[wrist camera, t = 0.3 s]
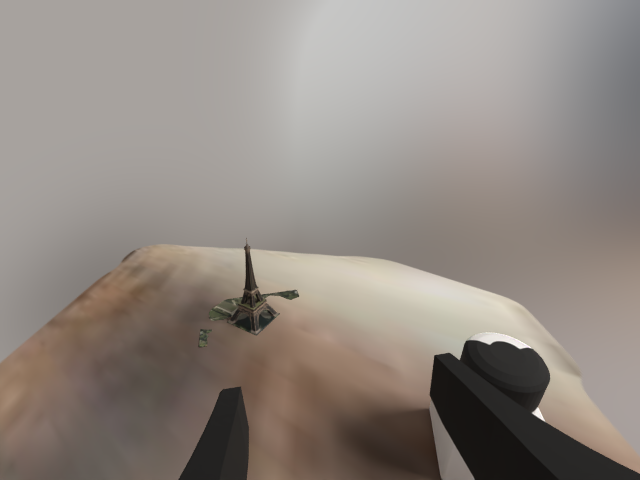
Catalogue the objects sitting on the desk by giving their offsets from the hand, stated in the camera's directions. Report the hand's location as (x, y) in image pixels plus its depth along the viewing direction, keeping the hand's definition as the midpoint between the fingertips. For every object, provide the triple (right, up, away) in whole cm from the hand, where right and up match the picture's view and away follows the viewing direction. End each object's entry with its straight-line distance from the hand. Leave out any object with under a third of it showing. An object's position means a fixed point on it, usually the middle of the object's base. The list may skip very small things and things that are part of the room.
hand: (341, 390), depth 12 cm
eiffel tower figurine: (-10, -6, +36) cm, 38 cm away
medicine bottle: (+14, -14, +19) cm, 27 cm away
